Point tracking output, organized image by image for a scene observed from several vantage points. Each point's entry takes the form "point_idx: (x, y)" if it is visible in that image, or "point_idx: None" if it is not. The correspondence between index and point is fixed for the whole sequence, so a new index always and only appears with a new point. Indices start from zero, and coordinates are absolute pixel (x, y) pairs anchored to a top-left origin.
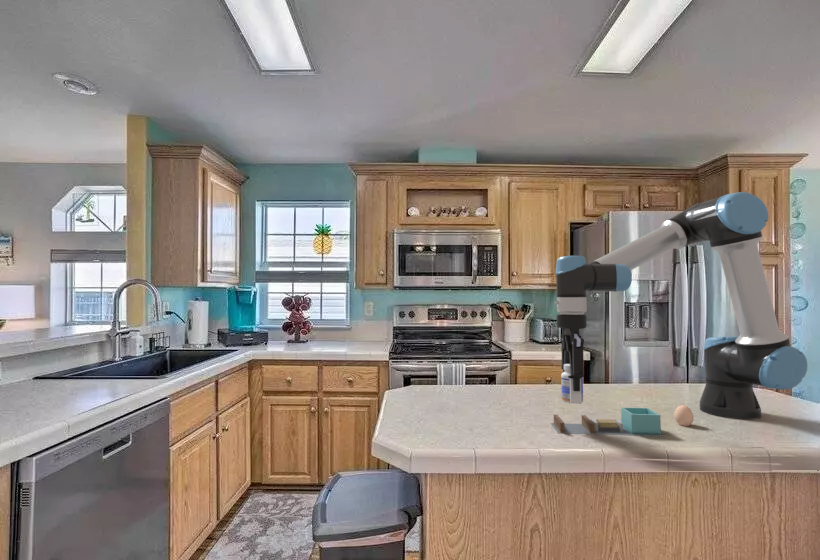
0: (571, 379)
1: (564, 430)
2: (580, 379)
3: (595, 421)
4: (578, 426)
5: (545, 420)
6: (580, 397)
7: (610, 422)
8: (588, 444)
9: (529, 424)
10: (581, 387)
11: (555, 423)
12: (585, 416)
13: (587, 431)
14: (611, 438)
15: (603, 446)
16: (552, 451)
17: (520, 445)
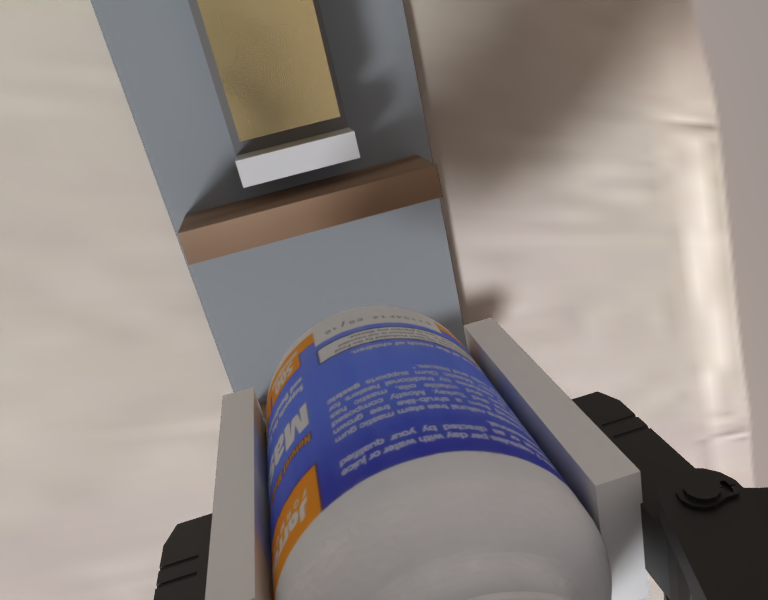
0: (640, 570)
1: None
2: (631, 469)
3: (321, 151)
4: (265, 266)
5: (155, 482)
6: (518, 351)
7: (310, 17)
8: (608, 201)
9: None
10: (487, 392)
11: None
12: (219, 232)
13: None
14: (451, 36)
15: (629, 112)
16: (740, 374)
17: None
